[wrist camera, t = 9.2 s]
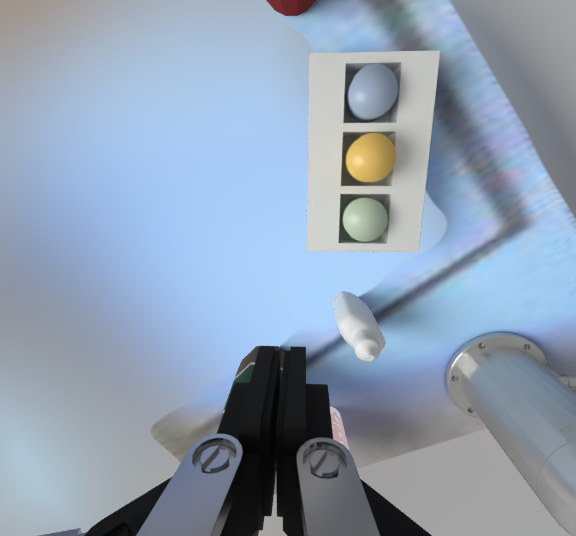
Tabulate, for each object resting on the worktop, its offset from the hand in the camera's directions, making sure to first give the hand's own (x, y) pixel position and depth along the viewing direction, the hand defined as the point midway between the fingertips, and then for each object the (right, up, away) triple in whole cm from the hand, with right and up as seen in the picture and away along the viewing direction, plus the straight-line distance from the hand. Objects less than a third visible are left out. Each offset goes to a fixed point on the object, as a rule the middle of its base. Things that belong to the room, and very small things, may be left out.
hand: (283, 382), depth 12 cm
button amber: (+8, +15, +22) cm, 28 cm away
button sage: (+8, +10, +25) cm, 28 cm away
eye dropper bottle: (+8, -1, +30) cm, 31 cm away
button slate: (+8, +21, +22) cm, 32 cm away
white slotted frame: (+8, +16, +25) cm, 31 cm away
